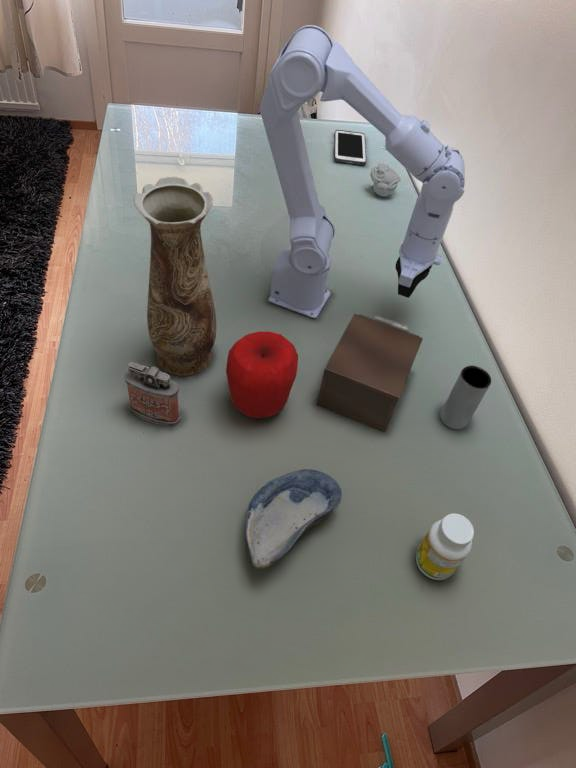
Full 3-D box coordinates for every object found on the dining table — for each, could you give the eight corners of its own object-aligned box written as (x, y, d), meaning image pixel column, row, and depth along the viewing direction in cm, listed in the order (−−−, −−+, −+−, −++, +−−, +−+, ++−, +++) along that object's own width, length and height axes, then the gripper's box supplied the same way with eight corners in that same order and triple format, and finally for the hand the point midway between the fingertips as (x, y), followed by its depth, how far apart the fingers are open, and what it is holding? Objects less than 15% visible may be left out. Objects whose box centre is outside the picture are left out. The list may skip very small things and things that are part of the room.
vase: (227, 348, 99) (232, 189, 76) (194, 391, 92) (189, 231, 69) (173, 325, 101) (163, 164, 78) (137, 366, 94) (114, 203, 71)
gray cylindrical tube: (434, 417, 94) (455, 375, 86) (449, 402, 96) (471, 360, 88) (458, 434, 92) (481, 393, 84) (473, 419, 94) (497, 377, 87)
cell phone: (334, 162, 141) (334, 158, 140) (334, 132, 151) (335, 129, 150) (365, 166, 141) (366, 162, 141) (364, 136, 151) (365, 132, 150)
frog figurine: (366, 184, 136) (372, 156, 131) (396, 189, 136) (403, 161, 131) (365, 199, 132) (371, 170, 127) (395, 204, 132) (403, 176, 127)
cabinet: (345, 349, 102) (354, 312, 95) (408, 373, 99) (423, 338, 93) (316, 404, 93) (324, 368, 86) (385, 432, 91) (399, 397, 84)
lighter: (184, 413, 89) (182, 370, 82) (174, 430, 87) (171, 387, 79) (136, 396, 90) (129, 352, 83) (125, 413, 88) (117, 369, 81)
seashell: (340, 586, 74) (347, 570, 71) (241, 580, 74) (243, 564, 70) (335, 481, 84) (341, 462, 81) (248, 475, 84) (250, 456, 80)
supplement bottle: (441, 589, 76) (466, 558, 68) (406, 562, 78) (427, 529, 70) (461, 560, 79) (487, 527, 71) (427, 534, 80) (449, 500, 73)
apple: (260, 368, 97) (267, 307, 86) (304, 406, 93) (317, 347, 82) (211, 400, 91) (211, 339, 81) (255, 442, 87) (261, 383, 77)
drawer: (359, 327, 104) (367, 298, 99) (415, 348, 102) (426, 320, 97) (325, 392, 94) (332, 363, 89) (387, 416, 92) (398, 389, 87)
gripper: (439, 262, 88) (415, 327, 98) (460, 214, 97) (436, 278, 107) (395, 246, 89) (375, 312, 99) (419, 200, 98) (399, 265, 108)
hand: (404, 293), depth 103 cm, fingers closed
